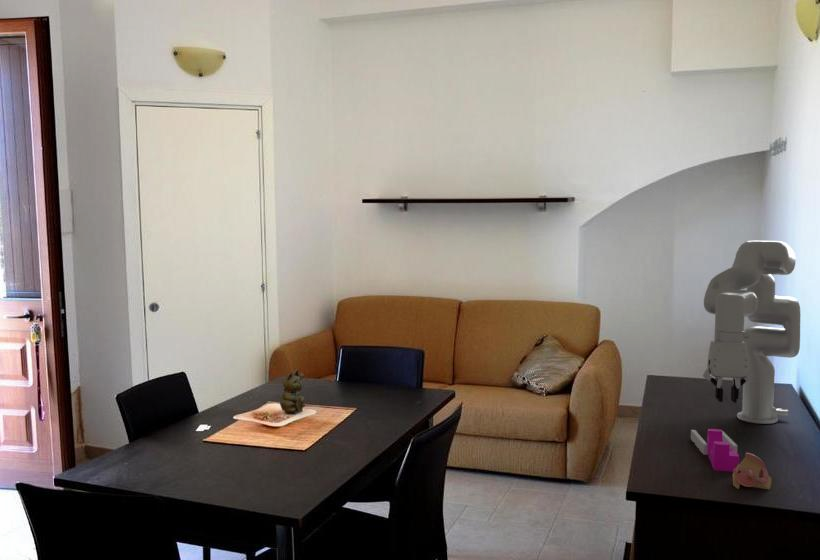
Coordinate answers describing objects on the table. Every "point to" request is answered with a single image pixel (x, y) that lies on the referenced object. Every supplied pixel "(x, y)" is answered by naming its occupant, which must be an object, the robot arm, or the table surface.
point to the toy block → (721, 452)
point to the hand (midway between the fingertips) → (726, 400)
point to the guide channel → (704, 446)
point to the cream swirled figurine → (751, 473)
